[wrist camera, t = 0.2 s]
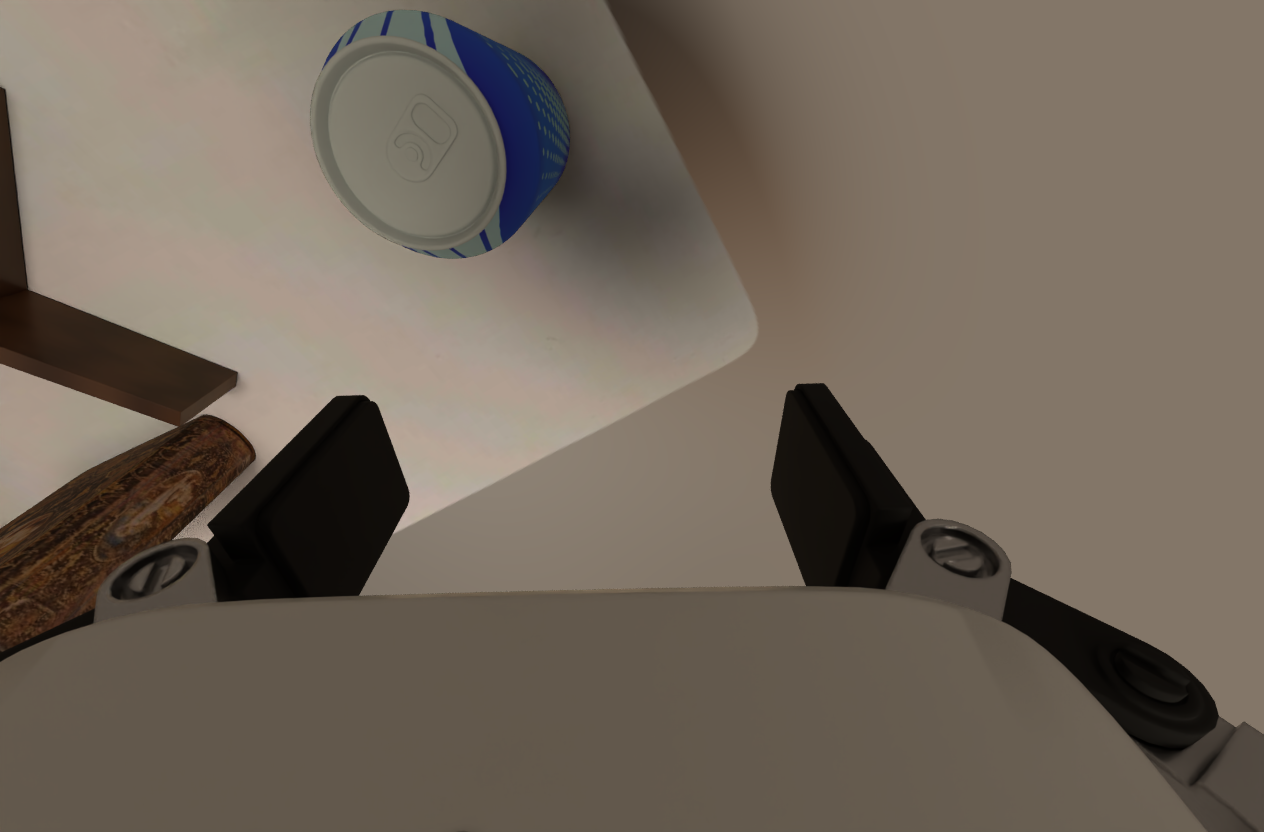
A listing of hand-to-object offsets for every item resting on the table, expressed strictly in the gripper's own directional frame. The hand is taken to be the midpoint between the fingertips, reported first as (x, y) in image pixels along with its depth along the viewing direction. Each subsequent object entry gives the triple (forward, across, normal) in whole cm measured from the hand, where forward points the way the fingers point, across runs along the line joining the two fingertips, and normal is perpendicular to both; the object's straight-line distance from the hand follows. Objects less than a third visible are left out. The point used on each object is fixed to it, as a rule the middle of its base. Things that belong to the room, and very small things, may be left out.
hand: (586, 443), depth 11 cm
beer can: (+26, +6, -5) cm, 28 cm away
